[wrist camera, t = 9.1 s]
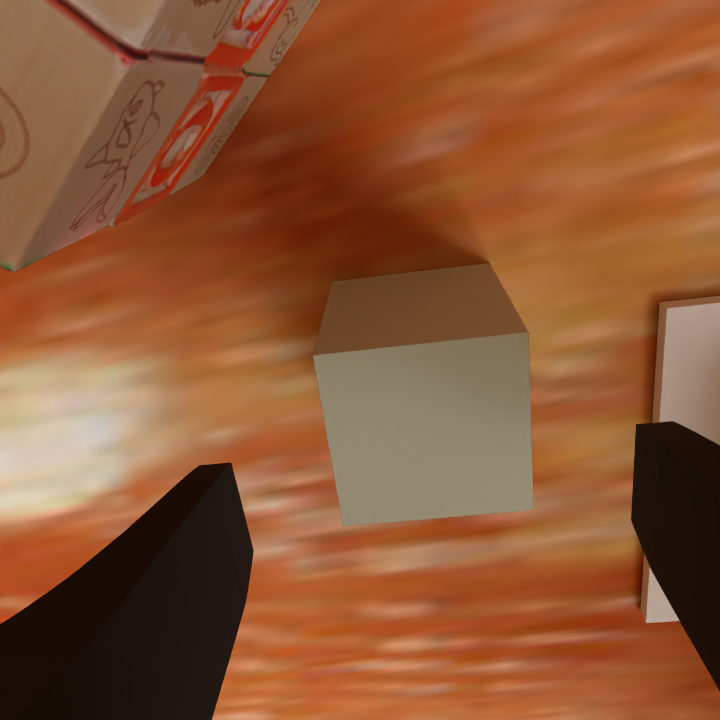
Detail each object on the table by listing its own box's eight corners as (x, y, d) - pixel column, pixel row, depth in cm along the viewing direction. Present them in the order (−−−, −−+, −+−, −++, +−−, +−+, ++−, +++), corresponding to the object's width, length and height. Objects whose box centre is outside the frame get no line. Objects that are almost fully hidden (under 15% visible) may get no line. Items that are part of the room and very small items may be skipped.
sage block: (496, 402, 18) (533, 509, 14) (353, 416, 19) (343, 526, 14) (489, 262, 17) (528, 332, 12) (332, 280, 17) (312, 355, 12)
